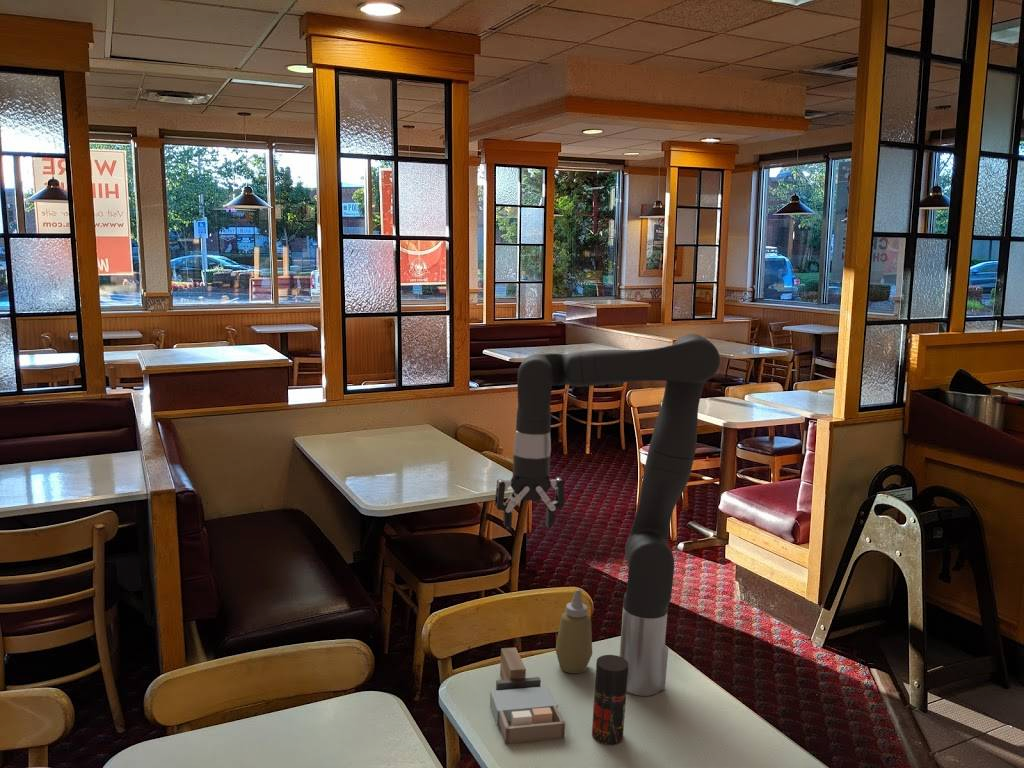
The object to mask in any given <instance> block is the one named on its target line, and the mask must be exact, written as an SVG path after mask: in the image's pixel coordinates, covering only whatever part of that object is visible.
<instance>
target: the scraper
mask: <svg viewBox="0 0 1024 768" xmlns="http://www.w3.org/2000/svg"><path fill="white" fill-rule="evenodd" d="M499 666H500V669H499V676H500V677H501V679H499V680H496V683H495V691H496V690H508V689H520V688H532V687H541V678H540V676H534V677H527V669H526V666H525V664H524V663H523V659H522V658H521V655H520V654H519V652H518V650H517V647H503V648H500V665H499Z"/></svg>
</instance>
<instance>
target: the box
mask: <svg viewBox="0 0 1024 768" xmlns="http://www.w3.org/2000/svg"><path fill="white" fill-rule="evenodd" d="M498 727H499V729H500V733H501V735H502V738H503V741H504V744H508V745H509V744H516V743H526V742H536V741H546V740H557V739H564V738H565V732H566V731H565V730H566V722H565V720H564V719H563V716H562V714H561V712H560V710H559V707H558V708H557V706H553V712H552V722H550V723H540V724H529V725H519V726H511V721H510V722H507V720H506V718H505V715H504V712H503V710H501V711H499V725H498Z"/></svg>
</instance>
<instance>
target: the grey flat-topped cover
mask: <svg viewBox="0 0 1024 768" xmlns="http://www.w3.org/2000/svg"><path fill="white" fill-rule="evenodd" d="M489 695H490V696H489V707H490V709H491V712H492V715H493V718H494V720H495V723H496V726H499V711H501V710H503V712H504V715H505V718H506V720H507V722H510V721H511V712H515V711H527V710H530V713H531V715H532V709H535V708H547V707H550V709H551V711H552V712H553V706H557V708H558V709H559V707H558V706H559V704H558V703H557V701H556V699H555V697H554V695H553V693H552V691H551V688H550V686H548V685H544V686H543V685H542V686H540V687H532V688H520V689H508V690H496V689H495V690H490V693H489Z"/></svg>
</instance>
